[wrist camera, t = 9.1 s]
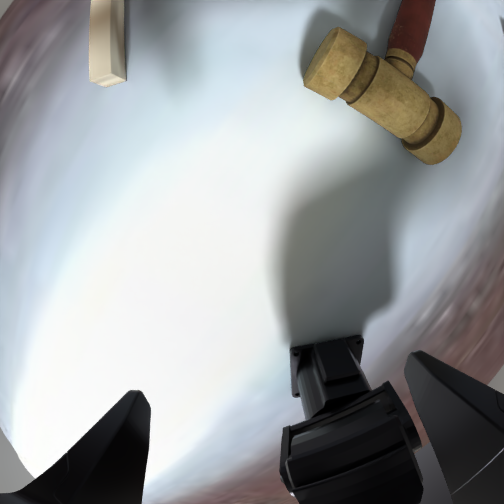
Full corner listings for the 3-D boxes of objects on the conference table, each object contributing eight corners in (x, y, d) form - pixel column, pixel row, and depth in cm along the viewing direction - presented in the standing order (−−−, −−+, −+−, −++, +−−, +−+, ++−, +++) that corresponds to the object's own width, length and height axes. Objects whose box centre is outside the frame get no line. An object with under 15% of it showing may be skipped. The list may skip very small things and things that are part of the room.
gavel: (392, -79, 6) (481, -10, 8) (372, -56, 10) (455, 2, 12) (316, 72, 11) (452, 168, 13) (295, 92, 16) (412, 164, 18)
